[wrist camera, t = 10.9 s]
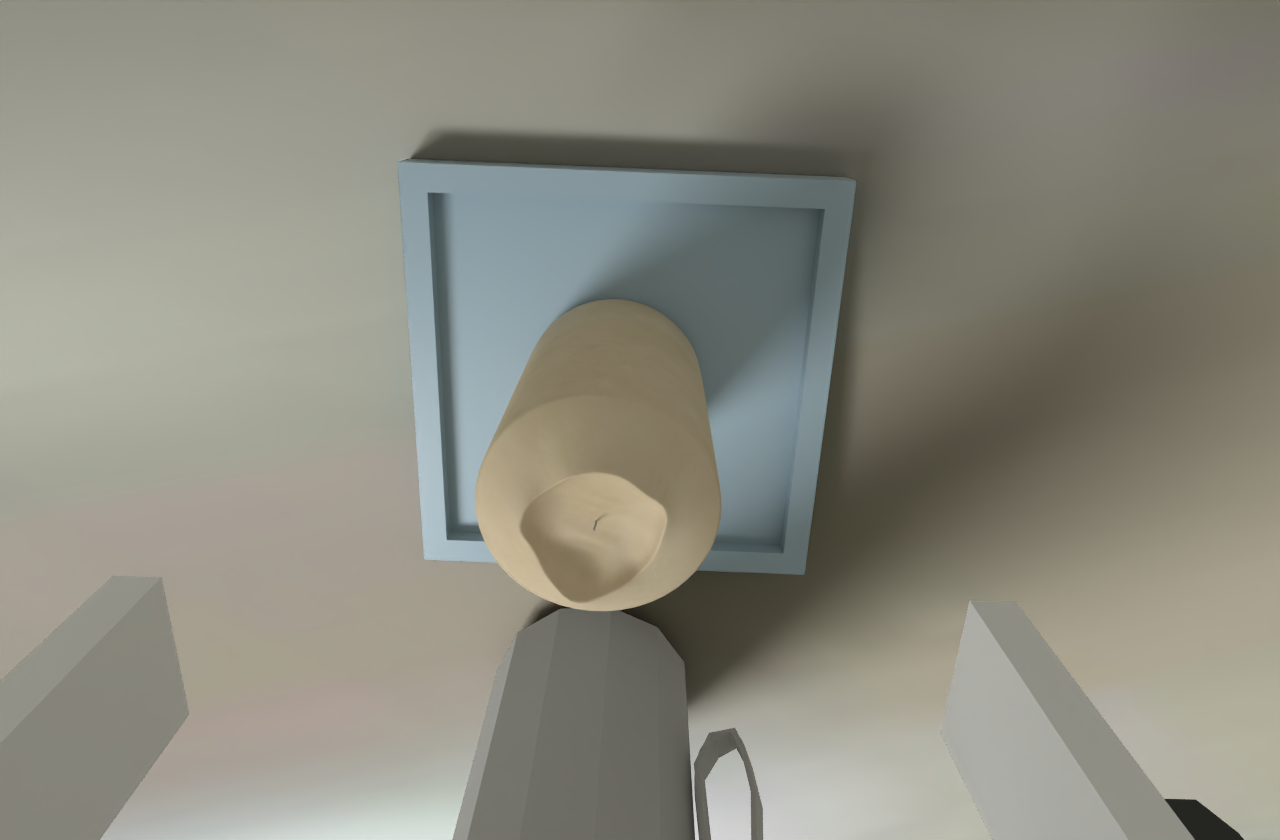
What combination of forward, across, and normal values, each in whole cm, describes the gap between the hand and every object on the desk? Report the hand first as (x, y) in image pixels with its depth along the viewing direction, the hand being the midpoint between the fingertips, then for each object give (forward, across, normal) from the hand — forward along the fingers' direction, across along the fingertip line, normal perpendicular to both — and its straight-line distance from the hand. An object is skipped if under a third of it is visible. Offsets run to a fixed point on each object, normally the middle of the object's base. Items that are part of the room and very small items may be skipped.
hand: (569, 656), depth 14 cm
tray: (+14, +1, 0) cm, 14 cm away
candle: (+14, 0, 0) cm, 14 cm away
